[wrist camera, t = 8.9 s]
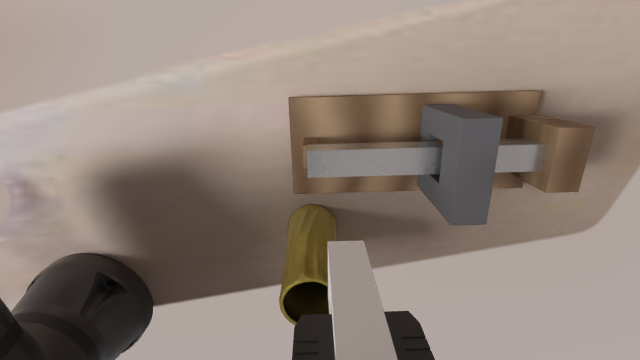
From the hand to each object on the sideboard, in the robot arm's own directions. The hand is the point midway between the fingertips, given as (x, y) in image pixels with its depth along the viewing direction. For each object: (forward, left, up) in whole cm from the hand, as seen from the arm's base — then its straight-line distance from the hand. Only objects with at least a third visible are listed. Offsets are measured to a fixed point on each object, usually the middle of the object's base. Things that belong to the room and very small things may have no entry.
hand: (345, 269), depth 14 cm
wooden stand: (+9, 0, -25) cm, 26 cm away
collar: (+12, 0, -23) cm, 26 cm away
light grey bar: (+9, 0, -20) cm, 22 cm away
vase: (-2, -11, -25) cm, 27 cm away
